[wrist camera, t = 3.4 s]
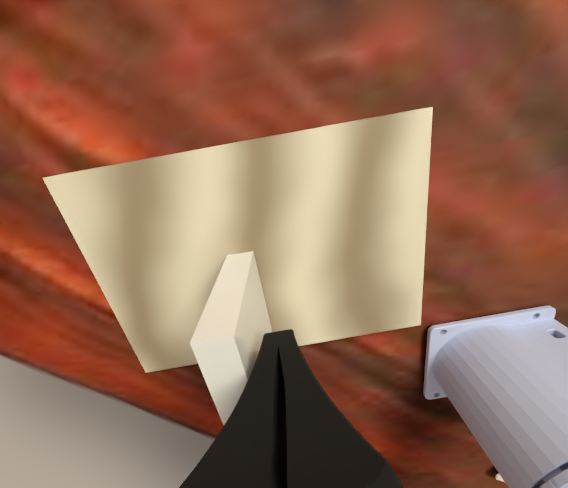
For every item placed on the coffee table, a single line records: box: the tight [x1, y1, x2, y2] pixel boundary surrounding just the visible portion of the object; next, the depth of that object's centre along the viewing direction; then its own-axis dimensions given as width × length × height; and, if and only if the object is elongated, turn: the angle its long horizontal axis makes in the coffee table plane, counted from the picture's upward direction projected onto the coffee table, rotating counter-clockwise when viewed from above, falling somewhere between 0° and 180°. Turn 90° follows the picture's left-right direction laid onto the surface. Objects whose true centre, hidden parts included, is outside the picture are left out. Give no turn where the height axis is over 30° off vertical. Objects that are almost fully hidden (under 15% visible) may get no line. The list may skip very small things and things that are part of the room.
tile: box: [190, 251, 272, 425], centre depth 14 cm, size 2×6×7 cm, turn 9°
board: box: [43, 107, 433, 373], centre depth 17 cm, size 20×14×1 cm
